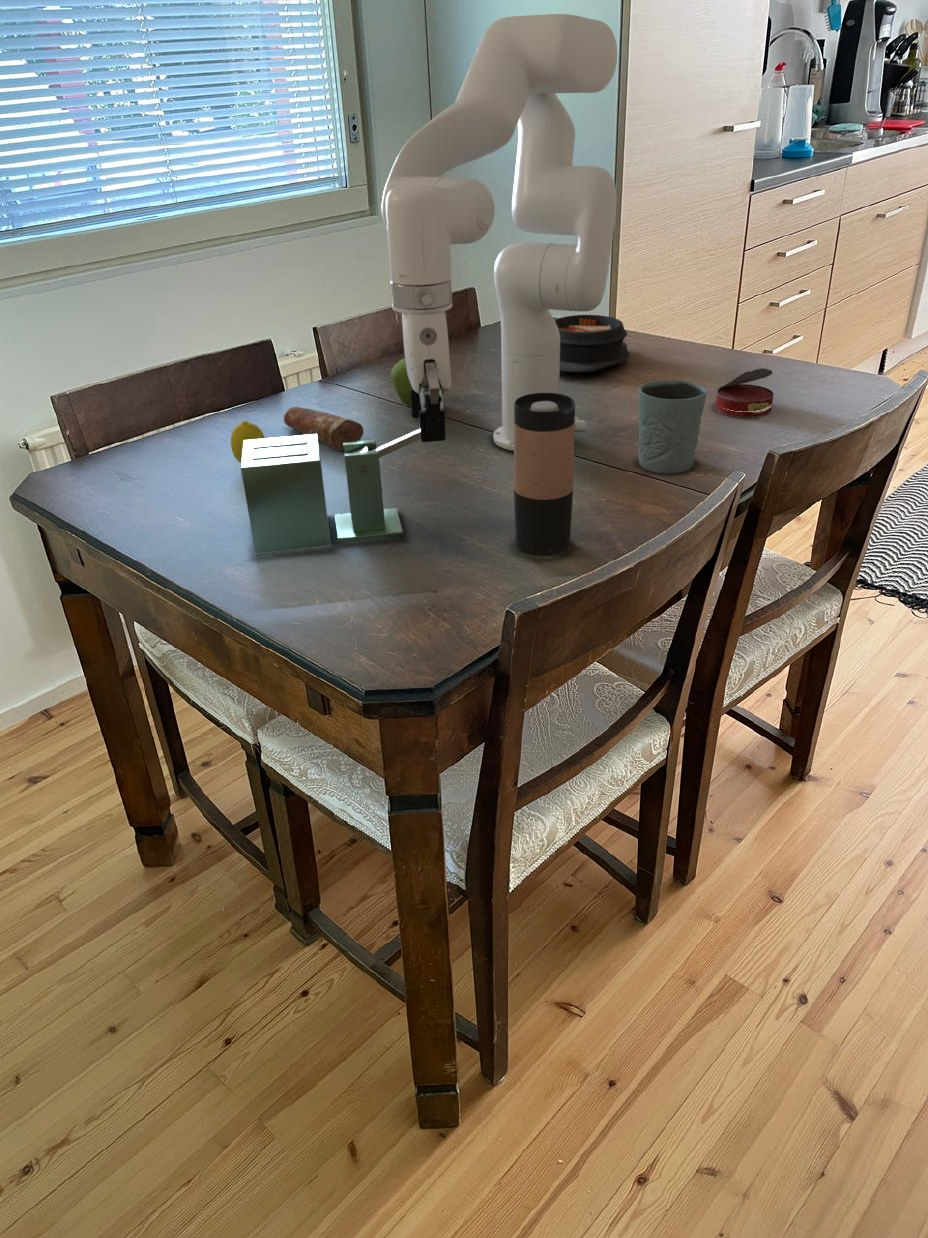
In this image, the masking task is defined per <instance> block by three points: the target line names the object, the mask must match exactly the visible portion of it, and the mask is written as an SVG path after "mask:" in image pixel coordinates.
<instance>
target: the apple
mask: <svg viewBox="0 0 928 1238" xmlns="http://www.w3.org/2000/svg"><path fill="white" fill-rule="evenodd" d="M390 378H391V382H392V385H393V388H394V390H395V392H396V394H397V396H398V397H399V399H400V401H401V403H403V404H404V405H405V406H407V407H409V408H411V394H410V389H413V388H412V387H411V383H410V380H409V378H408V374H407V368H406V361H405V358H402V359H400V360H399V361H398V362H397V363H396V364H393V366H392V370H391V372H390ZM441 390H442V397H443V395H444V394H445V392H446V389H443V388H442V386H441Z"/></svg>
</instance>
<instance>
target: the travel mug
mask: <svg viewBox="0 0 928 1238" xmlns="http://www.w3.org/2000/svg"><path fill="white" fill-rule="evenodd" d="M575 402H576V401H575V400H574V398H572V397H571V396H568V395H565V394H562V393H559V394H557V393H534V394H528V395H524V396H522V397H520V398H518V399H517V400H516V401H515V404H514V451H513V504H514V505H513V506H514V524H515V525H514V529H515V547H516V549H518V550H519V551H520V552H522V553H524V554H526V555H530V556H534V557H535V556H536V557H549V556H550V557H551V556H556V555H559V554H562V553H564V552H565V551H567V550H568V549H569V548H570V545H571V543H570V541H571V528H572V513H573V512H572V511H573V497H574V473H575V472H574V470H575V468H574V467H575V432H574V427H575V417H576V403H575Z"/></svg>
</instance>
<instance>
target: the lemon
mask: <svg viewBox="0 0 928 1238" xmlns="http://www.w3.org/2000/svg"><path fill="white" fill-rule="evenodd" d="M254 439H265V434H264V433H263V431H262V429H261V428H260V427H259V426H258V425H256V424H254V423H252V422H248V420H243V421H242V422H241V423H238V425H236V426H235V427H234V429H233V430H232V432H231V435H230V447H231V448H230V449H231V451H232V454H233V457H234V459H236V461H237V462H238V463H240V464H241V461H242V451H243V441H244V440H254Z"/></svg>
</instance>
